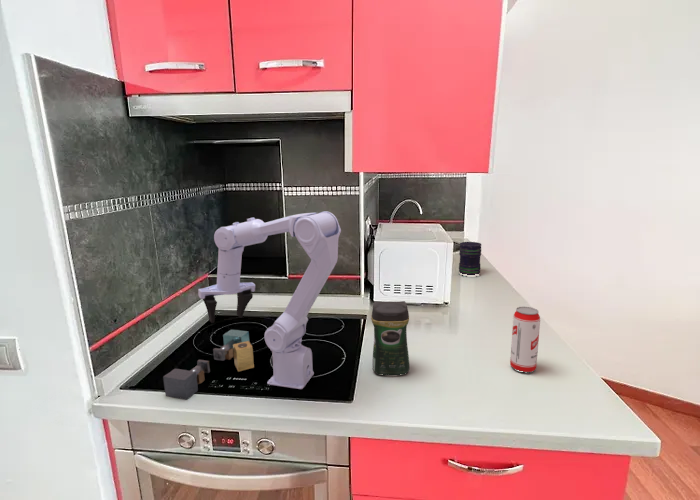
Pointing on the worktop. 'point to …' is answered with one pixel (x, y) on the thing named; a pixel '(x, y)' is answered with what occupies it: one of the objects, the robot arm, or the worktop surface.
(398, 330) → the coffee jar
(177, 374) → the shaft bench
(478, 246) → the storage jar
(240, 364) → the block
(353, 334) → the worktop surface
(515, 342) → the beer can
